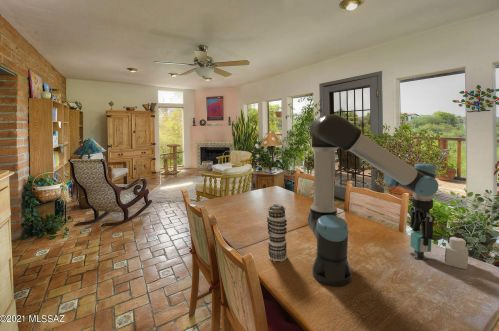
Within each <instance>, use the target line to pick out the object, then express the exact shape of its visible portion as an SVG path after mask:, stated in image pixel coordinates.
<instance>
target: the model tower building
mask: <svg viewBox="0 0 499 331" xmlns="http://www.w3.org/2000/svg"><path fill="white" fill-rule="evenodd" d="M267 210H268V216H267V217H266V222H267V234H268V237H269V238H268V243H267V244H268V259H269V258H270V259H271V261H272V260H273V261H272V262H276V261H280V262H284V261H286V259H287V253H288V252H287V251H288V250H287V245H288V244H287V242H286V241H287V239H286V235H287V230H288V228H287V226H288V223H287V222H288V220H287V219H286V208H285V207H284V206H283V205H282V204H278V203H277V204H271V205H270V206H269V207H268V208H267ZM270 259H269V260H270Z"/></svg>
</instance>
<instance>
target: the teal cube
mask: <svg viewBox="0 0 499 331" xmlns="http://www.w3.org/2000/svg"><path fill="white" fill-rule="evenodd" d="M421 237H422V231H420V232H412V231H411V232H410V247H411V248H412V249H415V250H416V251H417V252H420V243H421ZM431 252H432V239H429V241H428V252H427V253H431Z"/></svg>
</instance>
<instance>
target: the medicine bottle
mask: <svg viewBox="0 0 499 331" xmlns="http://www.w3.org/2000/svg"><path fill="white" fill-rule="evenodd" d="M447 239H448V240H447V242H446V244H445V252H444V265H447V266H451V267H455V268H459V269H461V270H468V261H469V249H468V246H467V245H468V239H466V238H465V237H464V236H461V235H455V234H451V235H449V236H448V238H447Z"/></svg>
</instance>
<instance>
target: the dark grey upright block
mask: <svg viewBox="0 0 499 331" xmlns="http://www.w3.org/2000/svg"><path fill="white" fill-rule="evenodd" d="M409 254H410V256H412V257H413V258H414V260H426V261H427V260H429V258H428V257H427V256H425V252H417V251H416V250H415V249H414V251H413V252H409Z"/></svg>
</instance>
